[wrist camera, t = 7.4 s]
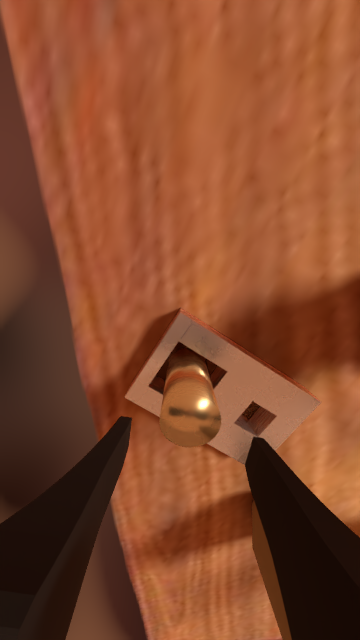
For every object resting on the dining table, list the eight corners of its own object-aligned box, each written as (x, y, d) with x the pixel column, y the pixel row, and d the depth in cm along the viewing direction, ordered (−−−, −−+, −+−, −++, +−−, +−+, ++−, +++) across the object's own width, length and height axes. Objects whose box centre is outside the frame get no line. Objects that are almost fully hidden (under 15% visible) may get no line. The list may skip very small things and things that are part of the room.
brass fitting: (210, 352, 19) (229, 402, 12) (199, 385, 20) (211, 452, 13) (173, 343, 19) (167, 388, 11) (164, 377, 20) (153, 440, 12)
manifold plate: (304, 387, 20) (321, 402, 18) (248, 449, 22) (255, 470, 20) (180, 307, 18) (180, 312, 16) (131, 383, 20) (124, 397, 18)
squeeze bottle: (260, 534, 25) (437, 1121, 8) (230, 496, 24) (362, 1109, 6) (316, 511, 24) (671, 1137, 7) (288, 469, 23) (644, 1126, 5)
